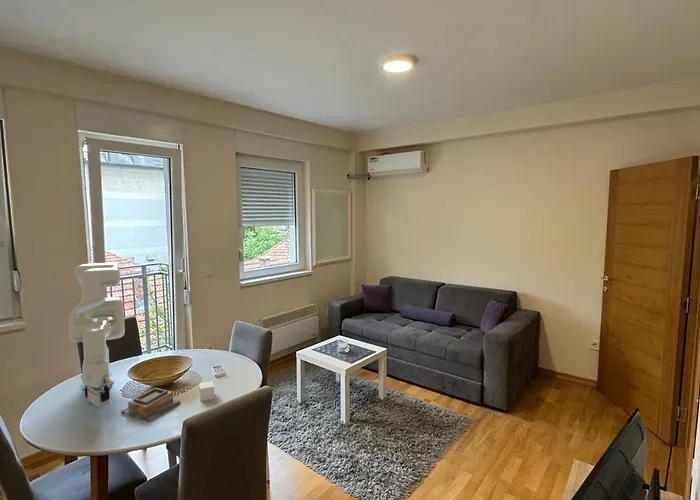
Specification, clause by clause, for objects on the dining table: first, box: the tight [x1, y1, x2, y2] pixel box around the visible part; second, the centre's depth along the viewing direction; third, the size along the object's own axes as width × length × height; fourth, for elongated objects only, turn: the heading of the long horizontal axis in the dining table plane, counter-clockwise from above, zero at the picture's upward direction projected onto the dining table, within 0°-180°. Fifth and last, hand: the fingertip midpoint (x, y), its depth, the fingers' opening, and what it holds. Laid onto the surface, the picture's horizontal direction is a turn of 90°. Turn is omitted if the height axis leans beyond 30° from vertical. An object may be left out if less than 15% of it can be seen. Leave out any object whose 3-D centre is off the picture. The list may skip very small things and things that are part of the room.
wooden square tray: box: [120, 387, 181, 422], centre depth 163 cm, size 16×16×6 cm
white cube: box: [198, 380, 215, 402], centre depth 174 cm, size 6×6×6 cm
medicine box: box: [87, 383, 111, 410], centre depth 153 cm, size 8×4×9 cm, turn 62°
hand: (97, 397), depth 153 cm, fingers closed on medicine box, 8 cm apart
